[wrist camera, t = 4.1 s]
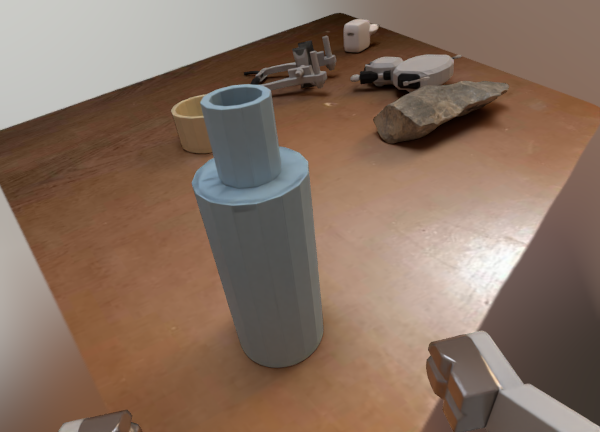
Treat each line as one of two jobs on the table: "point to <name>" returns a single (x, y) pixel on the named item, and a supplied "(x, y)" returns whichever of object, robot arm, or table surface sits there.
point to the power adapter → (358, 35)
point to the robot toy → (408, 71)
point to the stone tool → (433, 108)
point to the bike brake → (300, 68)
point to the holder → (191, 125)
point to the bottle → (260, 227)
